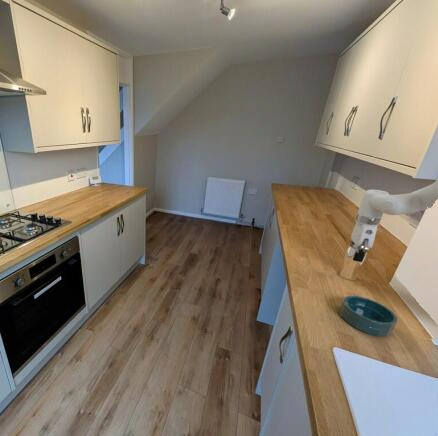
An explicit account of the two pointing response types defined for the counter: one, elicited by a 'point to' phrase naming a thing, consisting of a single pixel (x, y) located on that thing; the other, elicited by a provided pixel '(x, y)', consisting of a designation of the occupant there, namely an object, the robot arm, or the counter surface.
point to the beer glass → (351, 263)
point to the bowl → (368, 315)
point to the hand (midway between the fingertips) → (354, 256)
